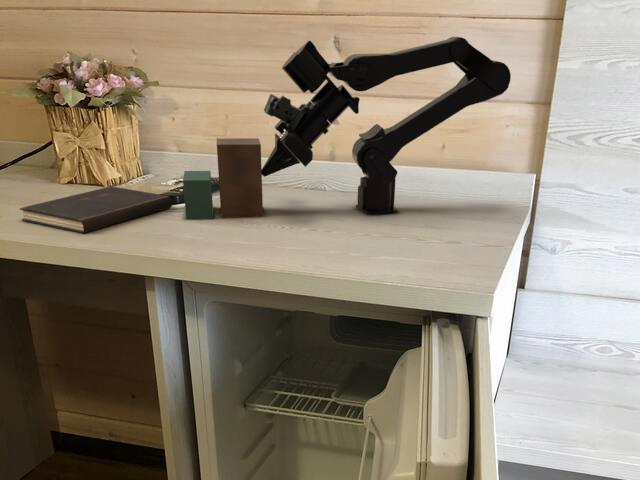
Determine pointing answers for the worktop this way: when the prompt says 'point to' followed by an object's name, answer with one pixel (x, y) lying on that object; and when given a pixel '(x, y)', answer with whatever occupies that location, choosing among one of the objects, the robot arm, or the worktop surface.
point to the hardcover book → (95, 209)
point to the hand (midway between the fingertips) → (262, 174)
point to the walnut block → (240, 177)
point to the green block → (198, 194)
